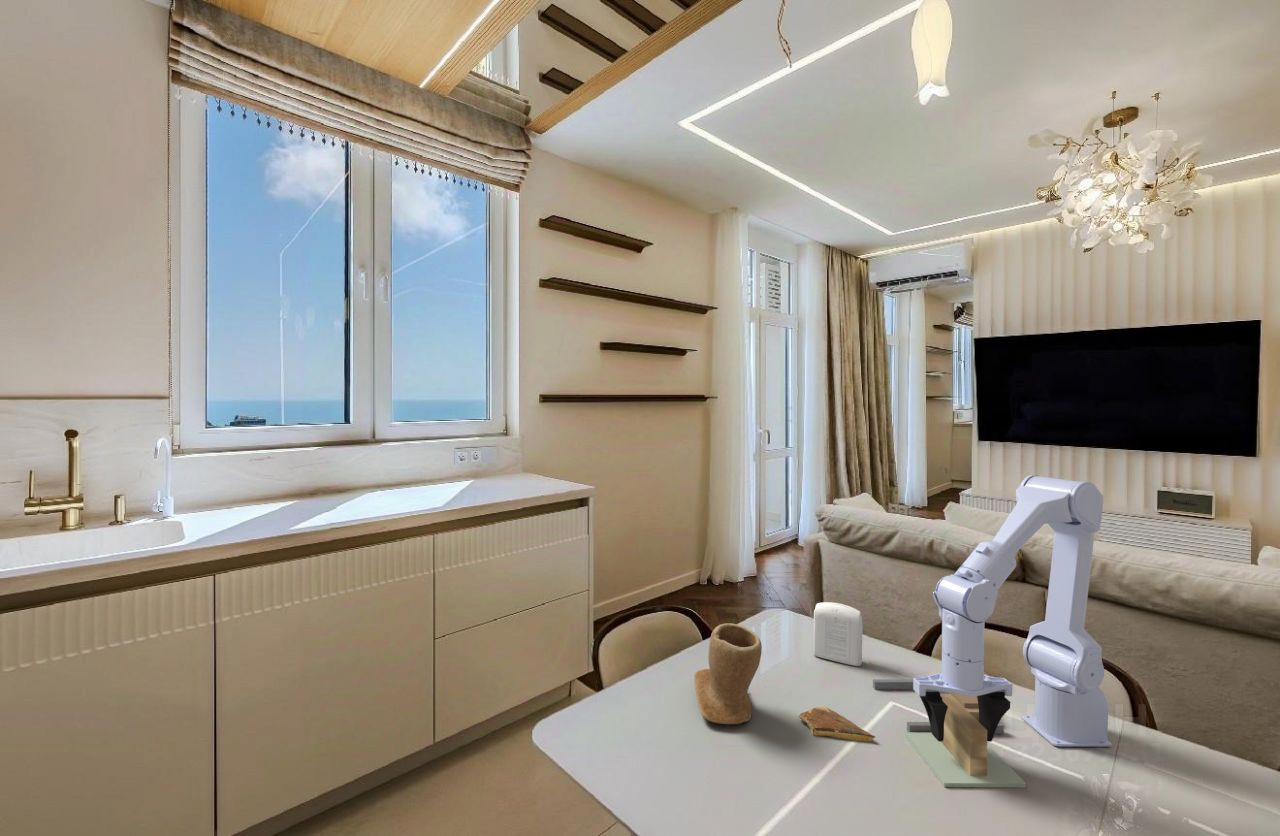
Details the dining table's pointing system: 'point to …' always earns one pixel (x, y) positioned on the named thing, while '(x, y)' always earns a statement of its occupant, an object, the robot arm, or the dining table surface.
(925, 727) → the offcut rack
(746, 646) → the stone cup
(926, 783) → the dining table surface
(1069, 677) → the robot arm
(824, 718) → the shard
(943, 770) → the sage mat
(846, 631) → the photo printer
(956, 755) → the oak block
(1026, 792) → the dining table surface
